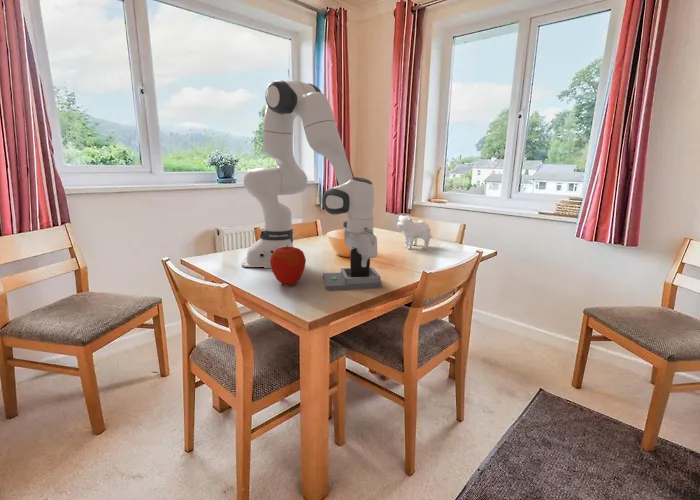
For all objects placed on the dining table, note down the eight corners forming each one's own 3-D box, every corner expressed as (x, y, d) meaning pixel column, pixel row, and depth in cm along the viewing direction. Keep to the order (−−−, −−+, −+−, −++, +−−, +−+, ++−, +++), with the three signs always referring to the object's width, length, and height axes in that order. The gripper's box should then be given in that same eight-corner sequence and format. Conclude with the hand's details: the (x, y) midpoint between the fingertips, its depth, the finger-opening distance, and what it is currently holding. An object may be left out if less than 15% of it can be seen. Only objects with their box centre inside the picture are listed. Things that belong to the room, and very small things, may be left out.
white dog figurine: (424, 242, 193) (426, 211, 189) (439, 246, 185) (442, 213, 180) (388, 248, 179) (390, 215, 175) (403, 253, 170) (405, 218, 166)
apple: (312, 286, 125) (311, 246, 122) (279, 292, 119) (277, 250, 115) (297, 276, 135) (296, 239, 132) (266, 281, 129) (264, 243, 125)
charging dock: (326, 290, 121) (326, 280, 120) (323, 277, 135) (323, 268, 134) (382, 287, 124) (382, 278, 123) (373, 275, 138) (373, 266, 137)
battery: (369, 275, 132) (370, 245, 129) (369, 279, 128) (370, 248, 125) (349, 275, 132) (350, 245, 129) (350, 279, 128) (350, 248, 125)
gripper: (382, 230, 117) (381, 271, 120) (357, 220, 135) (356, 256, 139) (365, 232, 115) (364, 273, 118) (341, 221, 133) (340, 257, 136)
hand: (359, 264), depth 128 cm, fingers closed on battery, 4 cm apart
